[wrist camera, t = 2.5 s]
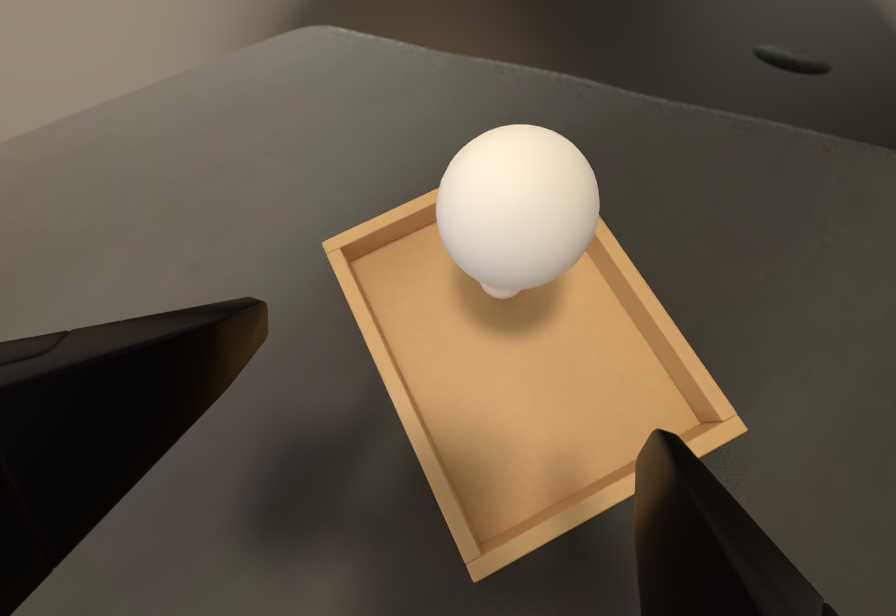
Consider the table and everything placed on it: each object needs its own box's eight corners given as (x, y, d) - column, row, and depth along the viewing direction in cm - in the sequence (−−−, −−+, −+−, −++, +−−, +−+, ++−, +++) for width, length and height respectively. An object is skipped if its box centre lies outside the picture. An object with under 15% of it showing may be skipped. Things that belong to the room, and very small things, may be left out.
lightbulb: (548, 229, 25) (605, 75, 14) (563, 330, 23) (642, 240, 12) (443, 238, 25) (424, 92, 14) (450, 339, 23) (434, 258, 12)
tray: (719, 430, 21) (749, 430, 19) (473, 567, 20) (473, 584, 18) (539, 163, 26) (545, 137, 24) (334, 259, 25) (320, 242, 23)
